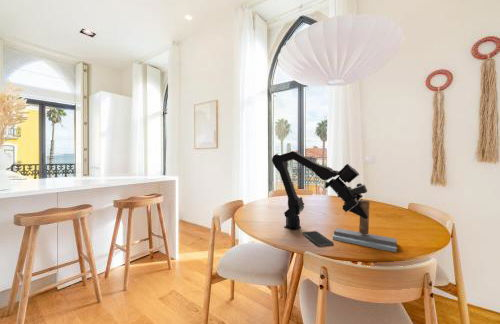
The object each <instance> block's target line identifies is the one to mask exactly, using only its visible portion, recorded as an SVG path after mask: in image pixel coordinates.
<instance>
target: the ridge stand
mask: <svg viewBox="0 0 500 324" xmlns="http://www.w3.org/2000/svg"><path fill="white" fill-rule="evenodd" d="M332 240H333V241H334V240H335V241H338V242H344V243H348V244H353V245H359V246H362V247H369V248H372V249H377V250H382V251H388V252H392V253H397V247H398V246H397V241H398V239H397V238H395V237H388V236H383V235H378V234H374V233H373V234H372V233H368V234H361V233H359V231H354V230H348V229H344V228H338V227H336V228H335V229H334V230H333V235H332Z"/></svg>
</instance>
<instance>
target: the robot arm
mask: <svg viewBox="0 0 500 324" xmlns="http://www.w3.org/2000/svg"><path fill="white" fill-rule="evenodd" d="M292 160H293V161H295V162H297V163H299V164H301V165H302V166H304V167H306V168H307V169H309V170H311V171H312V172H314V174H315V175H316V176H317V178H320V179H321V180H322V181H325V182H324V183H325V184H324V189H327V188H329V187H330V188H331V189H332V190H333V192H335V194H336V195H337V198H340V199H341V200H342V201H343V202H344V203H343V205H342V210H343V211H344V212H345V213H348V212H350V213H353V214H355V215H356V216H358V217H360V216H361V217H363V218H365V219H367V218H368V216H367V215H366V213H365V212H364V211H363V209H362V208H361V202H360V200H364V199H363V197H364V196H363V194H366V193H367V192H368V188H367V186H366V184H363V183H357V184H356V186H355V187H353V188H352V187H351V186H348V185H347V184H346V183H348V184H349V183H351V182H352V181H353V180H355V178H357V177H358V176H360V173H359V172H358V171H357V170H356V168H354V167H352V166H351V165H350V164H349V163H346V165H344V166H343V167H342V168H341V169H340V170H333V169H334V168H332V167H329V166H326V165H323V164H319V163H317V162H315V161H314V160H312V159H310V158H308V157H306V156H304V155H303V154H301V153H300V152H298V151H296V150H291V151H290V152H286V153H277V154H274V155H273V156H272V158H271V162H272V164H273V166H274V167H275V168H276V170H277V171H278V172H279V175H280V178H281V181H282V184H283V186H284V190H285V192H286V196H287V210H285V211H284V213H283V214H284V217H285V225H284V226H283V227H284V228H286V229H290V230H291V231H292V230H293V231H295V230H297V229H300V228H301V227H302V226H301V224H300V223H301V219H300V214H301V213H302V212H303V210H304V208H305V206H304V205H305V203H304V201H303V197H301V196H300V197H299V196H298V195H297V193H296V189H295V186H294V184H293V183H294V182H293V181H292V178H291V176H290V172H289V170H288V169H289V163H288V162H290V161H292ZM335 177H336V178H335ZM328 180H329V181H328Z"/></svg>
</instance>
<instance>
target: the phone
mask: <svg viewBox="0 0 500 324" xmlns="http://www.w3.org/2000/svg"><path fill="white" fill-rule="evenodd" d="M302 235H303V236H304V237H305V238H306V239H307V240H308V241H310V242H311V243H312V244H314V245H315V247H329V246H331V247H332V246H334V242H333V241H332V240H330V239H329V238H327V237H326V236H324V235H323V234H321V233H320V232H318V231H315V230H314V231H303V232H302Z"/></svg>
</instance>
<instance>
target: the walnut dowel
mask: <svg viewBox="0 0 500 324" xmlns="http://www.w3.org/2000/svg"><path fill="white" fill-rule="evenodd" d="M359 200H360V202H361V208H362V209H363V211H364V212H365V213H366V215H367V216H368V218H367V219H365V218H363V217H361V216H359V223H358V224H359V231H358V232H359V233H361V234H370V232H369V228H370V227H369V225H370V223H369V222H370V201H369V200H367V199H366V200H365V199H363V200H361V199H359Z"/></svg>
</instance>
